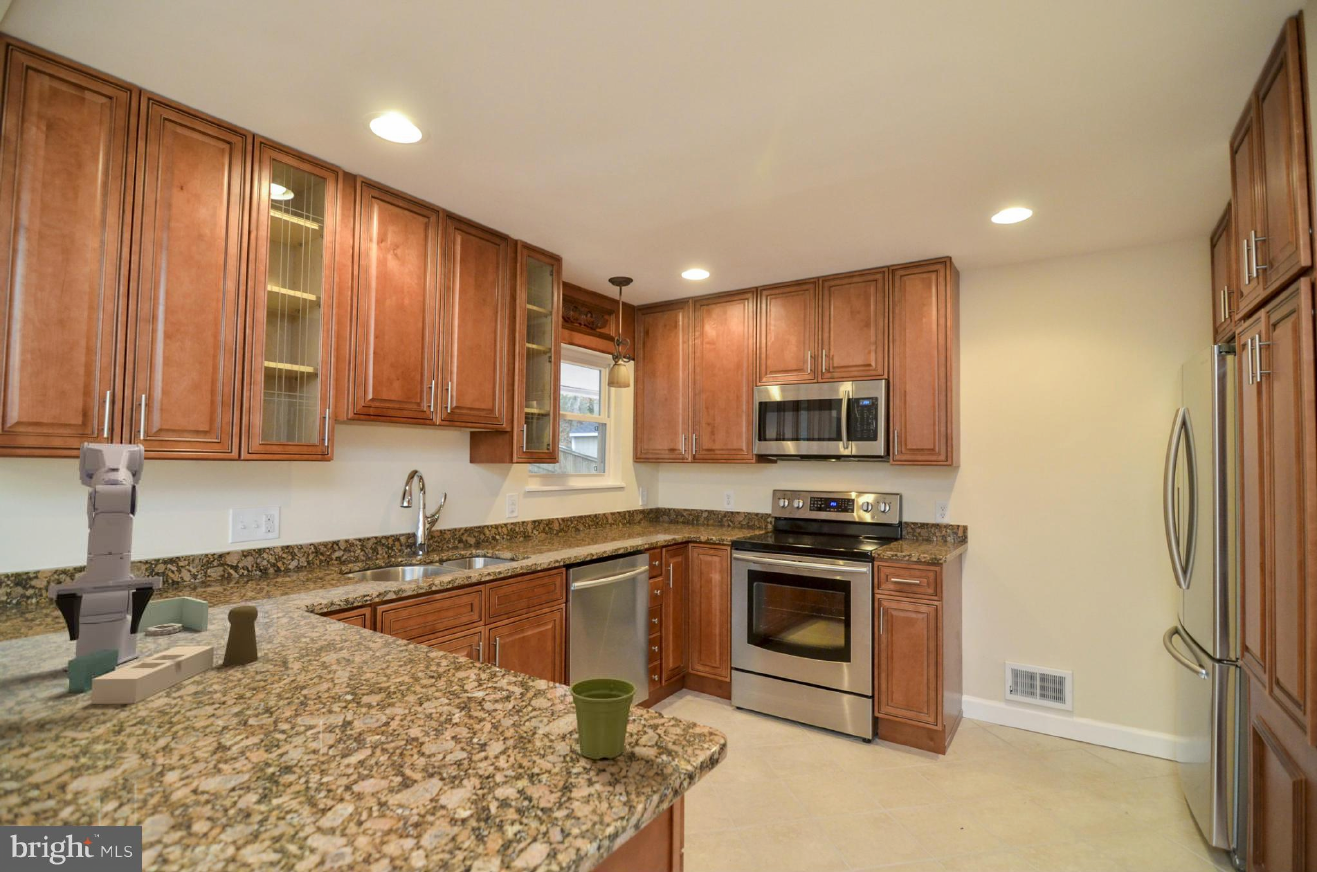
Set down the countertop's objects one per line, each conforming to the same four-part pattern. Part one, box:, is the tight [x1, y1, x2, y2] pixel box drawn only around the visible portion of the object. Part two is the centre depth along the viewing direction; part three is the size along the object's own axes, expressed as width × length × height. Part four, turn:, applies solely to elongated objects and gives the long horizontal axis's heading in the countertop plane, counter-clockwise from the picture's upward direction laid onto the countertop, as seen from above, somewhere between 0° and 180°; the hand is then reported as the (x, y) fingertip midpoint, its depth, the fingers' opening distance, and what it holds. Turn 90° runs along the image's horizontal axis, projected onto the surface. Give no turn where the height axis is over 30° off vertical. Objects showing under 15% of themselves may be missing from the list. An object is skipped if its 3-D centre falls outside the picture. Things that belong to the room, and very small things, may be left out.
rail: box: [90, 645, 215, 705], centre depth 115 cm, size 20×7×4 cm, turn 3°
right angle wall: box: [127, 596, 210, 637], centre depth 151 cm, size 12×12×8 cm
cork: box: [222, 605, 259, 666], centre depth 129 cm, size 6×6×11 cm
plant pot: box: [568, 677, 637, 760], centre depth 89 cm, size 9×9×9 cm
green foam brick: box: [66, 650, 118, 694], centre depth 113 cm, size 7×3×6 cm, turn 3°
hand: (104, 636), depth 106 cm, fingers open, 7 cm apart
